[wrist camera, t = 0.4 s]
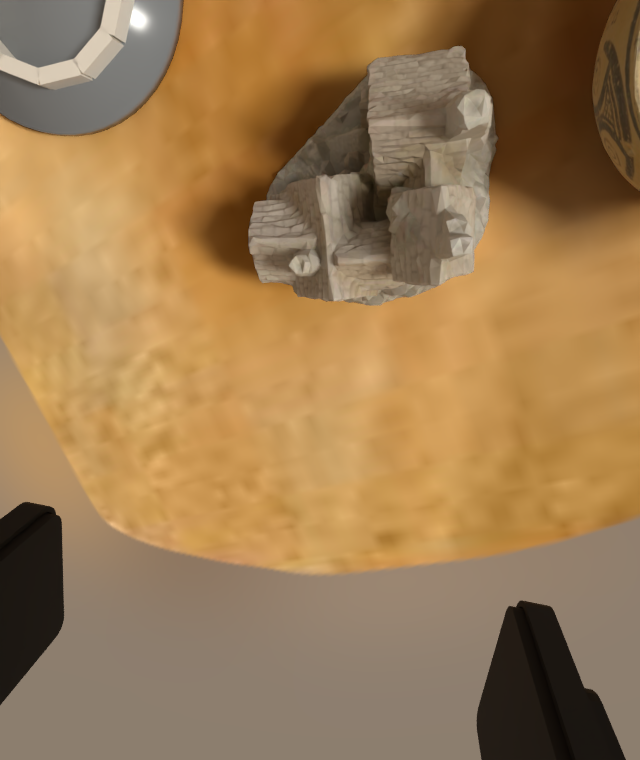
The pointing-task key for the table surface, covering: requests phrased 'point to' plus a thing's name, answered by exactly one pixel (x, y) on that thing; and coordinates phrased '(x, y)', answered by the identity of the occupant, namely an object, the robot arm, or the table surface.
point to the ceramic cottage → (384, 187)
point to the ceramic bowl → (620, 89)
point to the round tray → (83, 60)
